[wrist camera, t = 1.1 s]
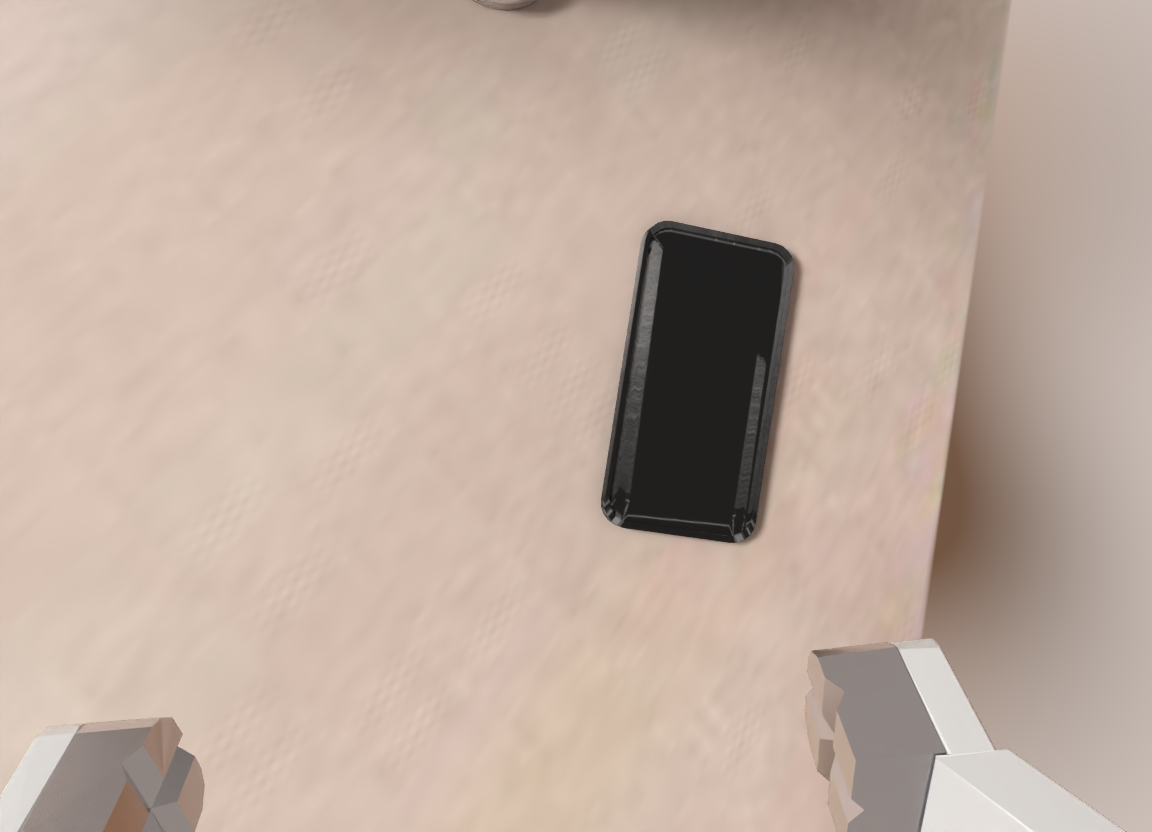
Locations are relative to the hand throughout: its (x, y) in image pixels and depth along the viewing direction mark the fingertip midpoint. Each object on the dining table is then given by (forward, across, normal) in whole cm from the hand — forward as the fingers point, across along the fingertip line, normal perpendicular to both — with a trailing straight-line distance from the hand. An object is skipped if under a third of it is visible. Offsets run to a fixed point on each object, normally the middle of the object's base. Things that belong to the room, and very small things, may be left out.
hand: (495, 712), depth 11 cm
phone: (+29, -7, +13) cm, 33 cm away
